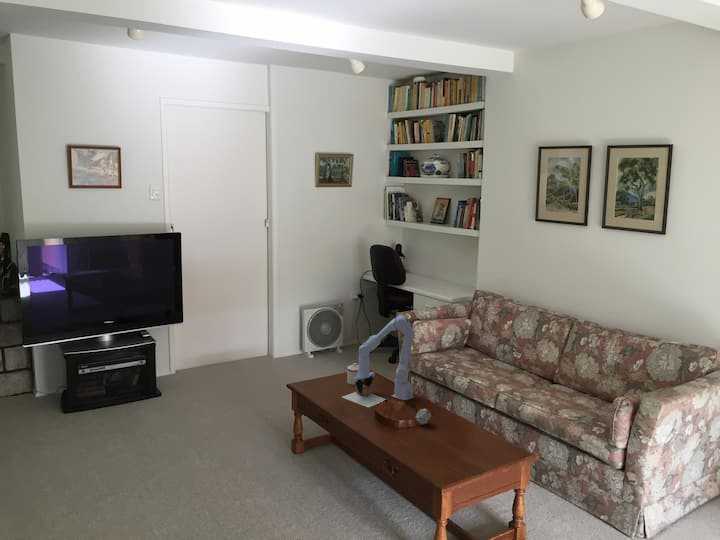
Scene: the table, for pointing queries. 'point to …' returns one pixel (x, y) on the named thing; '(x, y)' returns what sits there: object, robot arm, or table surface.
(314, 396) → the table surface
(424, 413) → the grey rock
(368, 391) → the brown rectangular block
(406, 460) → the table surface
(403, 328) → the robot arm
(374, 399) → the grey mat
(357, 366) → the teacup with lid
